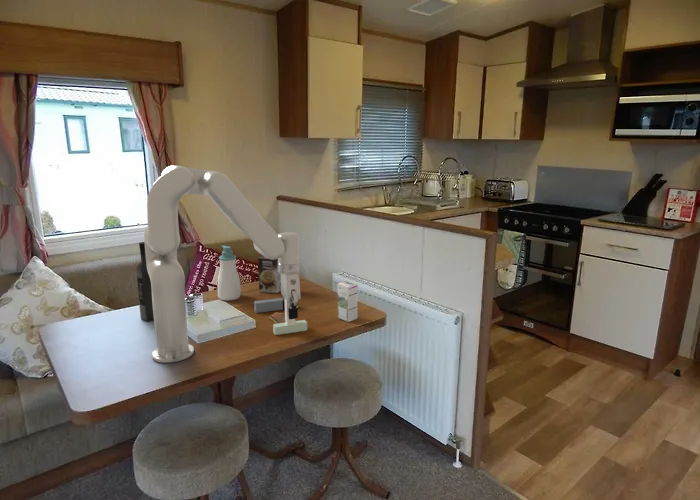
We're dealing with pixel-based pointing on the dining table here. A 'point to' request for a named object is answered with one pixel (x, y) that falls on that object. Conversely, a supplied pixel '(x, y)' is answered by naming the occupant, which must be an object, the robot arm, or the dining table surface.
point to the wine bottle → (144, 287)
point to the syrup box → (347, 301)
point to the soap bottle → (228, 276)
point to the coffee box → (269, 275)
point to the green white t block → (289, 323)
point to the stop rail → (268, 305)
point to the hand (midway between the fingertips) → (290, 314)
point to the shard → (278, 317)
